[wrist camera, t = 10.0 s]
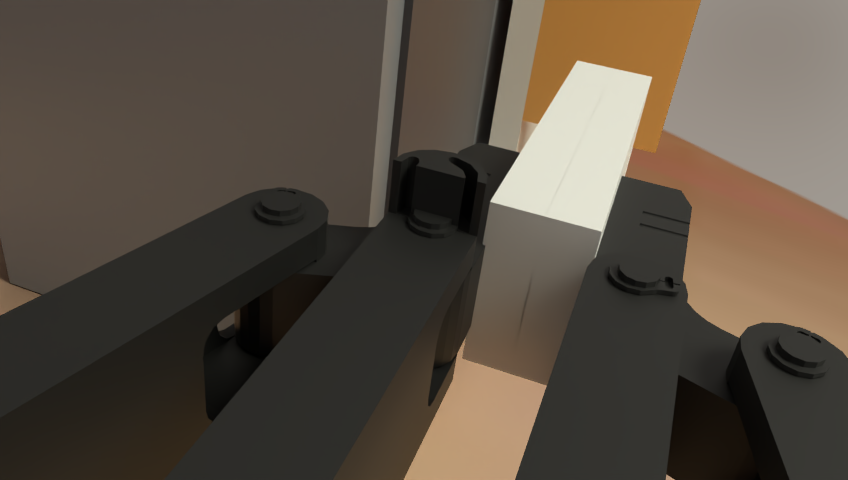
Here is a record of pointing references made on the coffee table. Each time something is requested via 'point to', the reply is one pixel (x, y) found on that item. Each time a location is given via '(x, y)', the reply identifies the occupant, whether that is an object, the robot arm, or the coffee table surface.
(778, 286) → the coffee table surface
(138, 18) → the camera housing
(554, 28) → the white boxy piece
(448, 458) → the coffee table surface
